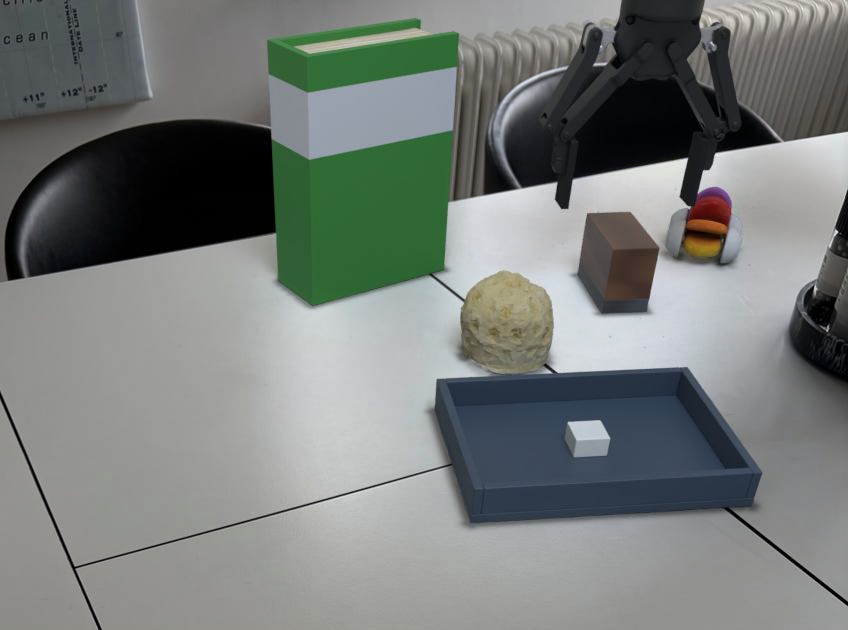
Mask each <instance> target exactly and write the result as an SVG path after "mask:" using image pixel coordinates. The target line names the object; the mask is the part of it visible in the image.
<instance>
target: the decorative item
mask: <svg viewBox="0 0 848 630" xmlns="http://www.w3.org/2000/svg"><path fill="white" fill-rule="evenodd" d="M552 302H553V301H552V300H551V297H550V295H549V294H548V292H547V289H546V288H544V287H542V286H539V285H538V284H535V283H533V282H531V281H530V279H528V278H527V277H524V276H523V275H522V274H520V273H519V272H516V271H515V272H511V271H509V270H504V269H503V270H502V269H501V270H500V271H498V272H496V273H494V274H491V275H489V276H487V277H484V278H483V279H481V280H480V281H478V282H477V283H476V284H474V286H472V287H471V288H470V289H469V290H468V291H467V293H466V295H465V298H464V302H463V304H462V306H461V307H460V316H459V324H460V330H461V335H460V336H461V342H462V347H463V353H464V357H465V358H470V359H471V360H472V361H474V362H475V363H477V364H480V365H482V366H483V365H484V367H485V369H486V370H487V371H490V372H492V373H495V374H500V375H518V374H523V373H524V374H525V373H531V372H537V371H538V370H540V369H541V367H543V366H544V365H545V364H546V362H547V359H548V356H549V353H550V350H551V347H552V345H553V340H554V339H553V337H554V328H555V323H554V319H555V318H554V309H553V303H552Z"/></svg>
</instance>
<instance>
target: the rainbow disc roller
mask: <svg viewBox="0 0 848 630" xmlns="http://www.w3.org/2000/svg"><path fill="white" fill-rule="evenodd" d="M732 209H733V202H732V199H731V196H730V194H729V193H728V192H727V191H726V190H725V189H723V188H722V187H719V186H710V187H707V188H704V189H702V190H701V191H699V192H698V195H697V199H696V204H695V206H689V207H683V208H679V209H678V210H676V211H675V212H673V214H671V216H670V221H669V224H668V229H667V233H666V237H665V242H664V247H665V250H666V251H667V252H668V253H669V254H670V255H671V256H673V257H676V258H677V257H679V254H680V250H681V246H682V247H683V249H684V251H685V252H686V253H687V254H688V255H690V256H692V257H695V258H698V259H708V258H712V257H715V256H717V255H719V254H720V252H721V255H720V258H719V259H720V260H719V263H720V264H727V263H728V264H729V263H730V262H733V261H734V260H735V259H737V257H738V256H739V253H740V250H741V246H742V243H743V237H742V234H743V230H744V222H743V221H742V219H741V217H740V216H739V215H737V214H735V213H732Z"/></svg>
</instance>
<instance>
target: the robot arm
mask: <svg viewBox="0 0 848 630" xmlns="http://www.w3.org/2000/svg"><path fill="white" fill-rule="evenodd" d="M705 3H706V0H621V1H620V6H619V7H620V8H619V16H618V19H617V22H616V23H615V26H614V27H613V28H610V27H603V26H602V27H601V26H597V25H596V24H595V23H594V22H588V23H586V24H584V27H583V29H582V33H581V38H580V42H579V46H578V49H577V51H576V52H575V54H574V55H573V57H572V59H571V61H570V63H569V65H568V66H567V67H566V70H565V71H564V73H563V75H562V77H561V78H560V80H559V82H558V83H557V85H556V87H555V89H554V91H553V92H552V94H551V96H550V98H549V99H548V101H547V103H546V104H545V106H544V108H543V110H542V111H541V113H540V115H539V116H538V118H537V119H538V120H537V124H538V125H539V127H540V128H541V130H542V131H543V133H544V134H545V135H548V136H549V135H550V136H553V146H552V152H551V153H552V154H551V158H550V159H551V161H550V165H551V169H552V171H553V172H554V173H555V174H557V182H556V187H555V188H556V189H555V195H554V201H555V203H556V204H557V205H558V207H559V208H560V210H569V208H570V201H571V194H572V190H573V189H572V188H573V182H574V176H575V175H574V174H575V170H576V169H575V168H576V161H577V157H578V155H577V154H578V149H579V143H580V142H579V141H578V140H577V139H576V137H575V135H576V133H578V132H579V130H580V129H581V128H582V127H583V126H584V125H585V124H586V123H587V121H589V120H590V118H592V116H593V115H594V114H595V113H596V112H597V111H598V110H599V109H600V107H601V106H603V104H604V103H605V102H606V101H607V100H608V99H609V98H610V96H611V95H612V94H613V93H614V92H615V91H616V90H617V89H618V88H620V87H622V86H623V85H624V84H625V83H626V82H627V81H628V80H629V79H630V78H632V79H634V80H635V81H639V82H641V81H642V82H644V81H647V80H650V79H655V80H657V81H668V79H669V78H671V77H674V79H675V80H676V82H677V84H678V86H679V88H680V89H681V91H682V93H683V95H684V97H685V99H686V100H687V102H688V104H689V107H690V108H691V110H692V112H693V113H694V116H695V117H696V119H697V121H698V123H699V125H700V126H701V129H702V130H703V131H693V132H692V138H691V141H690V142H691V143H690V147H689V151H688V156H687V160H686V165H685V169H684V174H683V178H682V183H681V188H680V192H679V198H680V199H681V200H682V202H683V203H684V204H685V205H686V206H687V207H691V206H695V204H696V199H697V195H698V193H699V192H700V186H701V182H702V178H703V174H704V171H711V169H712V166H713V165H714V159H715V157H716V153H717V147H718V144H719V142H721V141H723V140H724V139H725V137H726V134H727V133H730V132H732V133H736V132H738V131H739V130H740V129H741V127H742V118H741V112H740V108H739V103H738V98H737V93H736V88H735V83H734V78H733V73H732V67H731V62H730V57H729V50H730V44H731V43H730V41H731V30H730V29H729V28H728V27H727V26H725V25H724V24H722V23H721V22H720V21H714V22H713V23H711V24H710V26H705V27H701V24H700V23H701V18H702V15H703V11H704V7H705ZM700 43H701V47H702V49H703V50H704V51H705V52H706V54H707V55H706V56H707V61H708V65H709V70H710V76H711V80H712V86H713V90H714V94H715V99H716V104H717V109H718V114H719V116H718V117H717V116H716V114H715V112H714V110H713V109H712V107H711V105H710V103H709V101H708V99H707V97H706V95H705V93H704V91H703V89H702V88H701V85H700V84H699V82H698V80H697V77H696V74H695V72H694V70H693V68H692V66H691V64H690V63H689V61H688V59H689V57H690V56H691V55H692V54H693V52H694V51H695V50H696V49H697V48H698V47H699V45H700ZM610 44H611V45H612V47H613V50H614V51H615V54H614V55H613V56H612V57H611V59H610V60H609V61H608V62H607V63H606V64H605V65H604V67H603V70H602V71H601V73H600V74H599V75H598V76H597V77H596V78H595V79H594V81H593V82H592V83H590V85H589V86H588V87H587V88H586V89H585V90H584V92H583V93H582V94H581V95H580V96H579V97H578V98H577V99H576V100H575V101H574V99H575V97H576V96H577V94H578V93H579V91H580V90H581V87H582V85H583V84H584V82H585V81H586V79H587V77H588V75H589V73H590V72H591V71H592V68H593V67H594V65H595V63H596V61H597V59H598V57H599V55H601V54H602V53H603V52H605V50H606V48H607V46H608V45H610ZM573 101H574V102H573ZM572 102H573V104H572ZM571 104H572V105H571Z"/></svg>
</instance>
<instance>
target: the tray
mask: <svg viewBox="0 0 848 630" xmlns="http://www.w3.org/2000/svg"><path fill="white" fill-rule="evenodd" d="M434 413H435V416H436V419H437V422H438V425H439V428H440V432H441V435H442V438H443V441H444V444H445V447H446V450H447V453H448V456H449V459H450V463H451V466H452V469H453V472H454V475H455V478H456V482H457V485H458V487H459V490H460V493H461V497H462V500H463V502H464V505H465V509H466V512H467V516H468V519H469V521H470V523H471V524H477V523H494V522H508V521H509V522H510V521H524V520H525V521H527V520H541V519H556V518H557V519H559V518H560V519H561V518H573V517H575V518H577V517H591V516H592V517H593V516H605V515H622V514H624V515H625V514H639V513H657V512H671V511H672V512H673V511H674V512H675V511H689V510H704V509H705V510H706V509H721V508H737V507H738V508H739V507H752V506H753V504H754V501H755V497H756V494H757V492H758V488H759V485H760V482H761V478H762V476H763V471H762V469H761V468H760V467H759V465H758V464H757V462H756V461H755V460H754V458H753V457H752V455H751V454H750V453H749V450H747V448H746V447H745V446H744V443H742V441H741V439H740V438H739V437H738V436H737V434H736V433H735V431H734V430H733V429H732V427H731V426H730V424H729V423H728V422H727V420H726V419H725V418H724V416H723V415H722V414H721V412H720V410H719V409H718V408H717V406H716V405H715V403H714V401H712V399H711V398H710V396H709V395H708V394H707V392H706V390H705V389H704V388H703V387H702V385H701V384H700V383H699V381H698V380H697V378H696V377H695V376H694V374H693V373H692V371H691V370H690V368H689V367H688V366H680V367H679V366H674V367H658V368H657V367H655V368H633V369H631V368H630V369H612V370H609V369H608V370H593V371H590V370H589V371H570V372H569V371H568V372H551V373H550V372H548V373H547V372H546V373H528V374H525V373H524V374H502V375H486V376H484V375H483V376H466V377H465V376H463V377H461V376H460V377H445V378H436V383H435V397H434ZM595 420H601V422H602V424H603V426H604V427H605V429H606V431H607V433H608V435H609V437H610V443H609V448H608V453H607V456H594V457H576V458H574V457H573V455H572V453H571V451H570V449H569V447H568V445H567V443H566V441H565V434H566V428H567V422H575V421H595Z"/></svg>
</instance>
